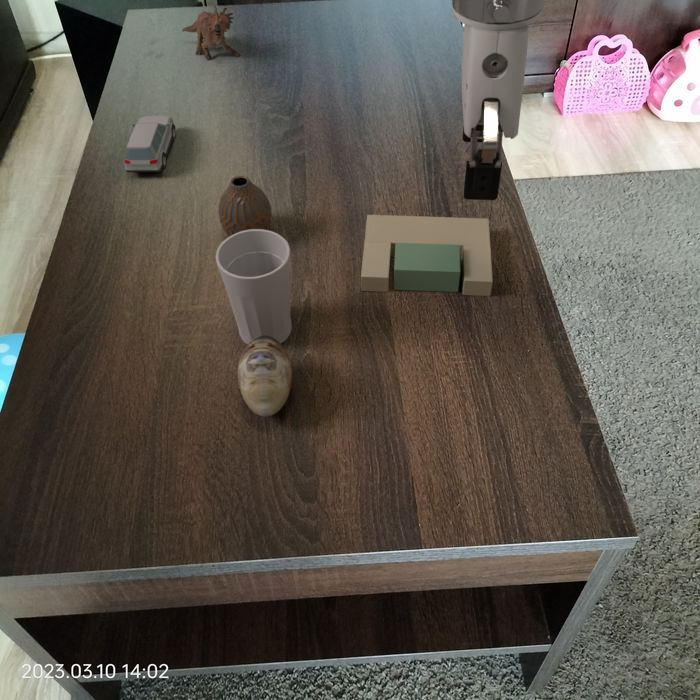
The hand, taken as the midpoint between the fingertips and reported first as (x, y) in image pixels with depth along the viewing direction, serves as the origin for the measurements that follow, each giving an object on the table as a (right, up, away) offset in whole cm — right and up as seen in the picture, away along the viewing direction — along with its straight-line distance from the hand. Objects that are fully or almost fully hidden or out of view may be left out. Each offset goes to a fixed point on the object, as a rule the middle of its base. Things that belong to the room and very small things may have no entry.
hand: (478, 168), depth 73 cm
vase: (-27, -3, +26) cm, 37 cm away
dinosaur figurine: (-37, +36, +59) cm, 79 cm away
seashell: (-22, -23, +8) cm, 33 cm away
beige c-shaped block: (-3, -7, +21) cm, 23 cm away
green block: (-3, -9, +19) cm, 22 cm away
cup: (-23, -16, +14) cm, 31 cm away
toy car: (-43, +12, +39) cm, 59 cm away
